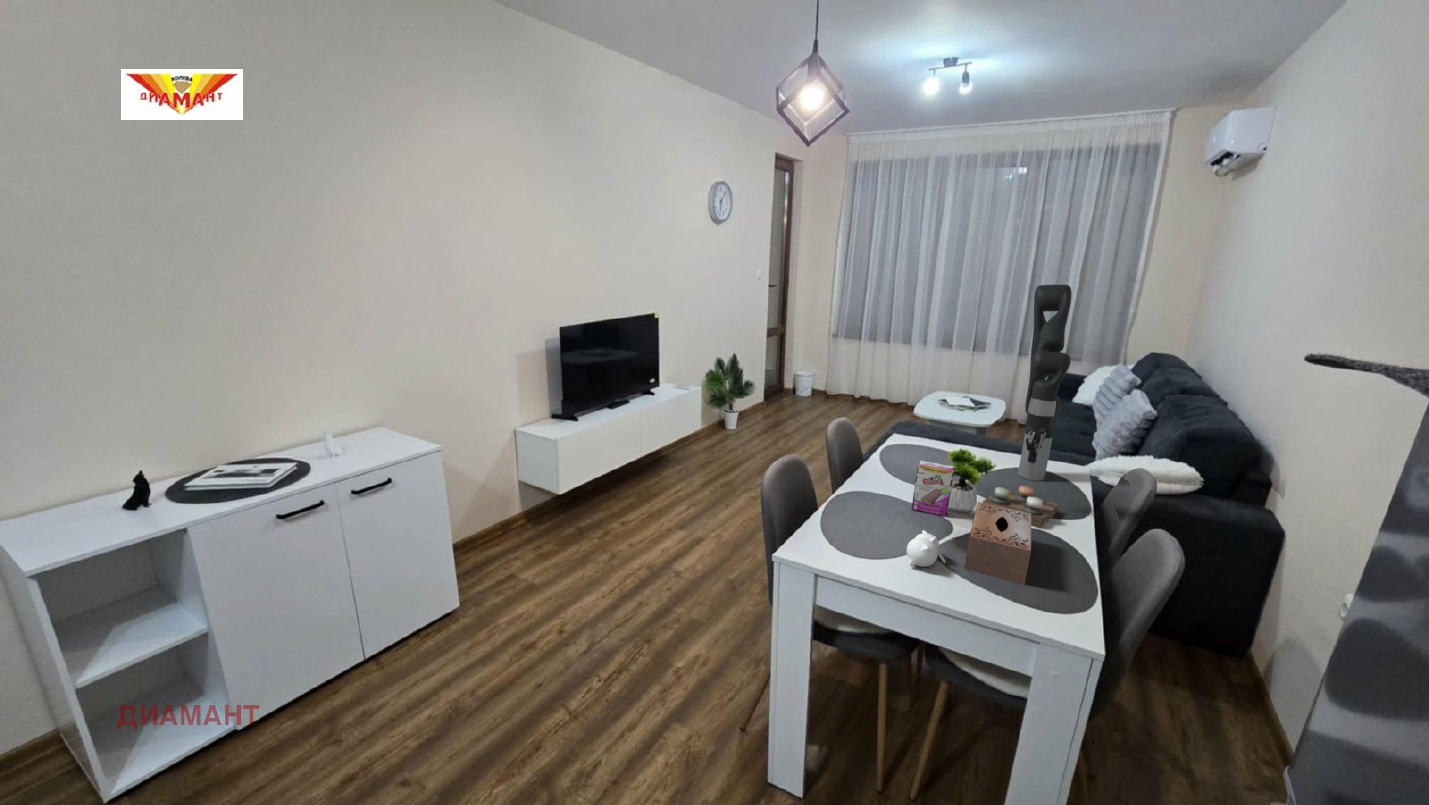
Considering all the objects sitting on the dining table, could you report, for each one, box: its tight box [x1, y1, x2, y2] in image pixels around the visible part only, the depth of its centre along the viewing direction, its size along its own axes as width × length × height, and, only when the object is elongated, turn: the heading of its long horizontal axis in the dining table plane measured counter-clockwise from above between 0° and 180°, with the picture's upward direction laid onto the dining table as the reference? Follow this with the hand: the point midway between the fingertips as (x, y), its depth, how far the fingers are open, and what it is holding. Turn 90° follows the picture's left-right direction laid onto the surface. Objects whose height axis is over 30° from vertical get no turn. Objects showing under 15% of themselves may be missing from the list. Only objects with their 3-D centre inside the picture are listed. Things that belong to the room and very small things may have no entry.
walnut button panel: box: [982, 490, 1059, 529], centre depth 188 cm, size 17×18×4 cm
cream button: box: [1026, 496, 1044, 508], centre depth 181 cm, size 4×4×2 cm
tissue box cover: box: [963, 501, 1032, 586], centre depth 158 cm, size 26×14×10 cm, turn 151°
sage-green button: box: [993, 486, 1011, 498], centre depth 188 cm, size 4×4×2 cm
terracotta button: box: [1017, 485, 1035, 497], centre depth 190 cm, size 4×4×2 cm
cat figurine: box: [906, 530, 947, 568], centre depth 153 cm, size 9×11×12 cm
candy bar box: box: [911, 460, 956, 518], centre depth 184 cm, size 11×5×16 cm, turn 65°
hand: (1031, 462), depth 187 cm, fingers closed
